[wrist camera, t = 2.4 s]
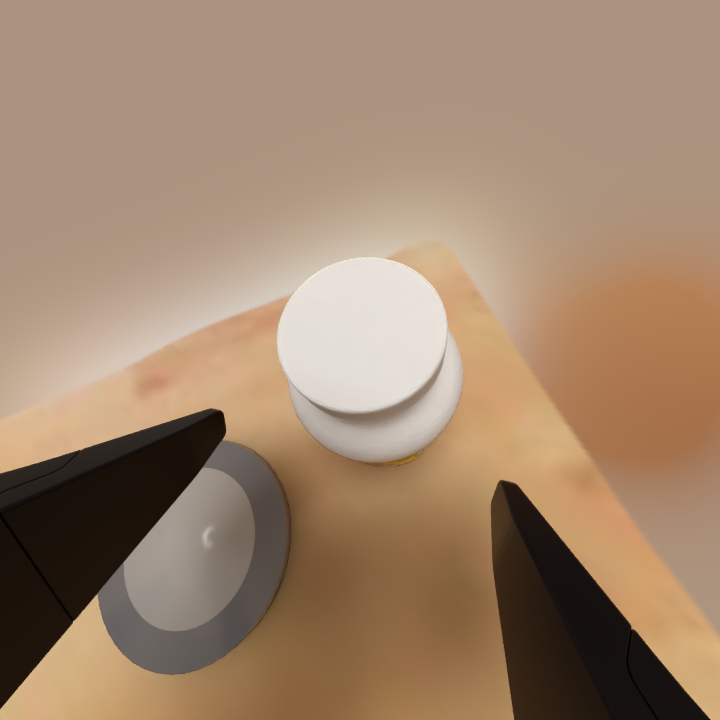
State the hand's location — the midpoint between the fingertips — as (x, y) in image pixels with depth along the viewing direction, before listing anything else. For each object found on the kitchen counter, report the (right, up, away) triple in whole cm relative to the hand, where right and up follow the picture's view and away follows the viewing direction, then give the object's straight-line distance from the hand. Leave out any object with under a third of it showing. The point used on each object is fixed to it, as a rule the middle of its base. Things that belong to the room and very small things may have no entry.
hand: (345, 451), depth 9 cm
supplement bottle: (+2, -1, +11) cm, 11 cm away
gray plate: (-10, -8, +9) cm, 16 cm away
